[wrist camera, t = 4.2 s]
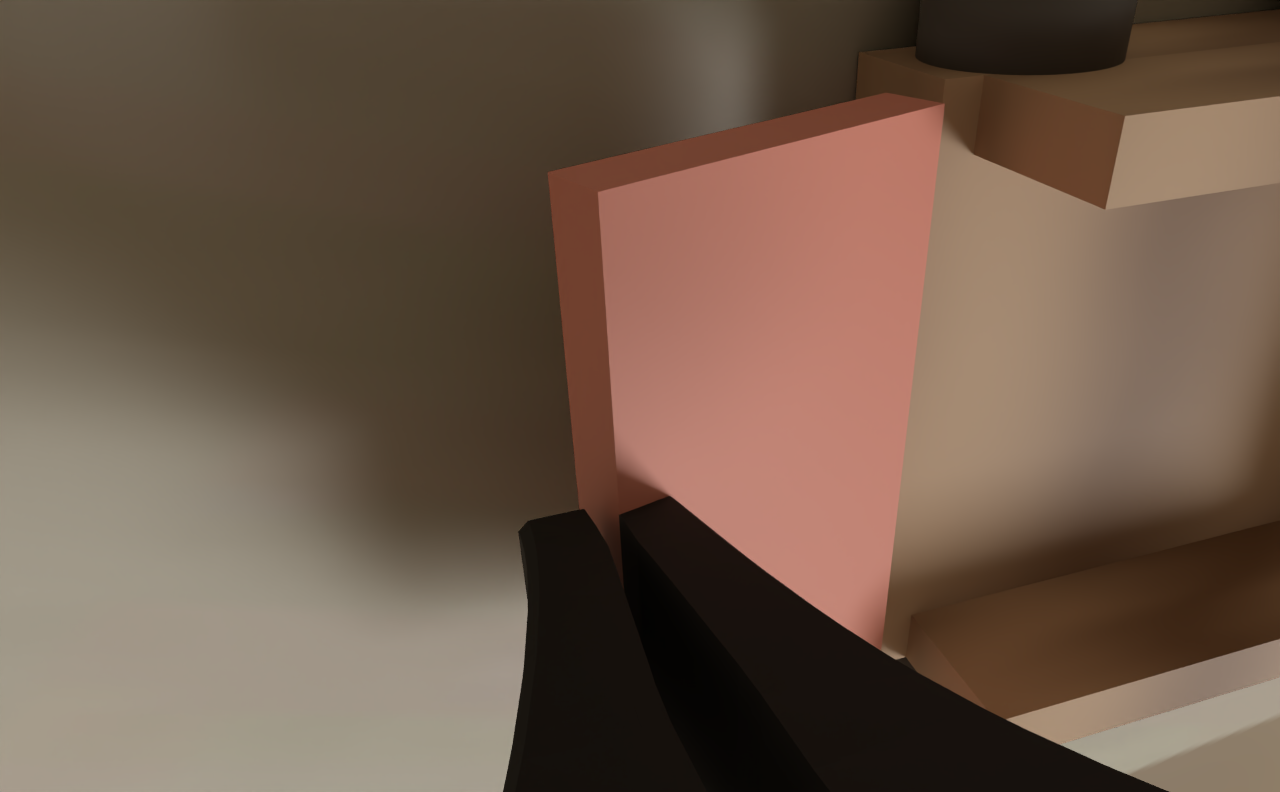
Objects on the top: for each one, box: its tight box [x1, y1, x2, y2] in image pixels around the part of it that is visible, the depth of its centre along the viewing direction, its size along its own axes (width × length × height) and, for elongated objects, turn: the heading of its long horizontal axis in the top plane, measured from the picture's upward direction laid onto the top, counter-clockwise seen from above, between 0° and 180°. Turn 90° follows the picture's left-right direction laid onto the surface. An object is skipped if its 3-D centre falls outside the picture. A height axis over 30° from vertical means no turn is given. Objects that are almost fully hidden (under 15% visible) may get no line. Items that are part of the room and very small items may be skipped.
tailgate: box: [548, 93, 945, 650], centre depth 11 cm, size 1×9×4 cm
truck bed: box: [856, 0, 1280, 744], centre depth 13 cm, size 9×11×4 cm
